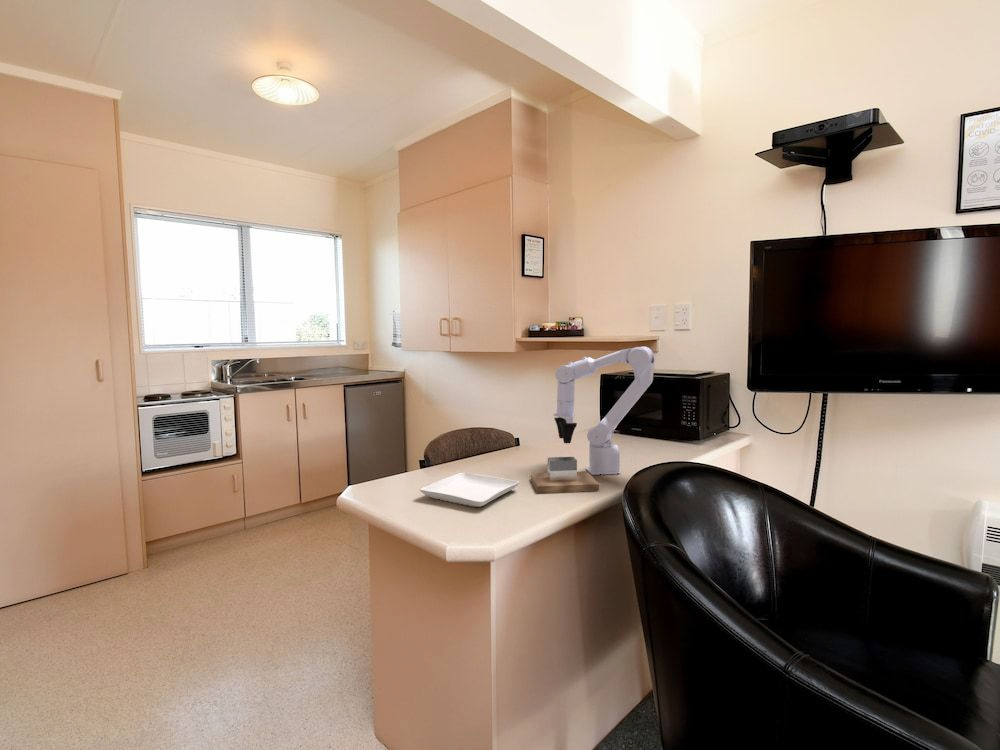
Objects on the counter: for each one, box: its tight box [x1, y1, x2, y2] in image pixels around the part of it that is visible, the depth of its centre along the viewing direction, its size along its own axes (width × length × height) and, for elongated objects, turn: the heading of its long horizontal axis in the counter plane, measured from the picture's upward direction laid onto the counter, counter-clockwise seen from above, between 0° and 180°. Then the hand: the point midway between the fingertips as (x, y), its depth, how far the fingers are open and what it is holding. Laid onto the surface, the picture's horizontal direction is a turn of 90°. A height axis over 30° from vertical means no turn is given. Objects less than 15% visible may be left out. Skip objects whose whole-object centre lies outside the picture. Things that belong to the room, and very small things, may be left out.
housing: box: [547, 456, 578, 481], centre depth 149 cm, size 4×8×6 cm, turn 94°
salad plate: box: [419, 472, 520, 508], centre depth 141 cm, size 21×21×3 cm
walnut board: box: [530, 470, 600, 494], centre depth 149 cm, size 18×14×2 cm
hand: (564, 440), depth 168 cm, fingers open, 7 cm apart
